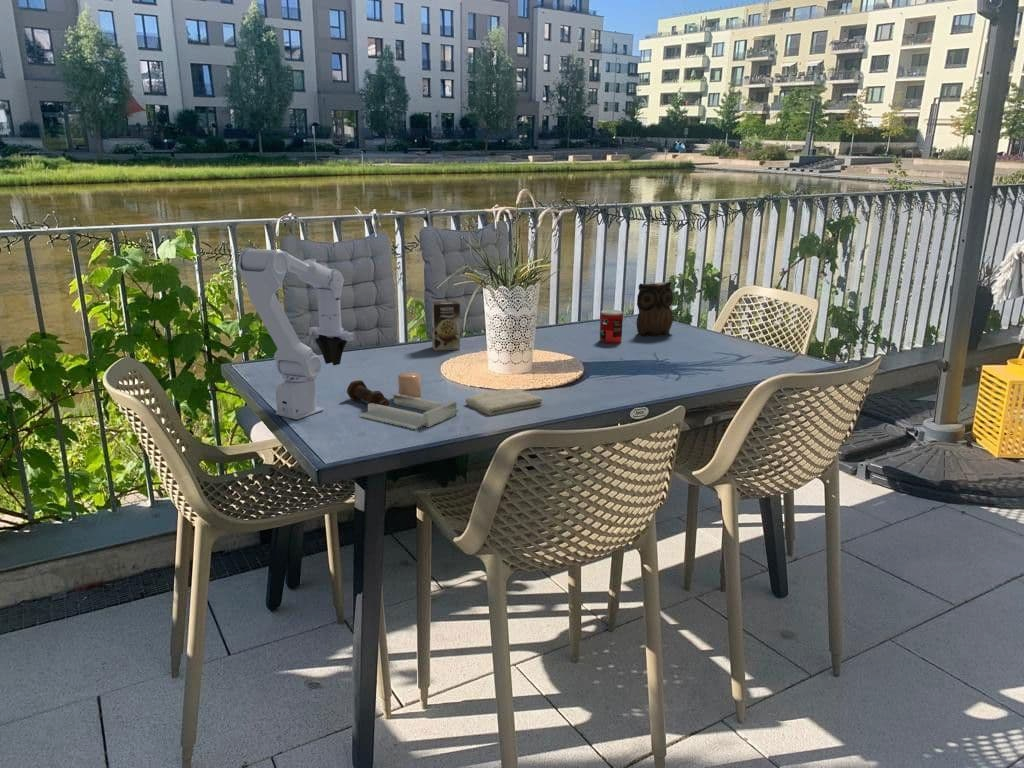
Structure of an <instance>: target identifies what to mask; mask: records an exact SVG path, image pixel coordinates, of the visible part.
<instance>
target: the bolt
mask: <svg viewBox="0 0 1024 768" xmlns="http://www.w3.org/2000/svg"><path fill="white" fill-rule="evenodd" d="M346 393H347V396H349V398H350V399H351V400H353V401H356V400H363V401H364V402H365V403H367V405H368V404H370V403H375V404H379V405H384V406H388V407H390V400H389V399H388V398H387V397H385V396H384V393H382V392H381V391H380V390H374V391H372V390H371V389H369V388H368V387H367V385H366V384H365V382H364V380H353V381H351V382H350V383H349V385H348V386H347V389H346Z"/></svg>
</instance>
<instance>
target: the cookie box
mask: <svg viewBox="0 0 1024 768" xmlns="http://www.w3.org/2000/svg"><path fill="white" fill-rule="evenodd" d="M431 344H432V345H431V347H432V349H433V351H435V352H436V351H454V350H455V351H456V350H461V304H460V302H458V301H456V300H455V301H454V300H453V301H451V300H450V301H449V300H448V301H431Z"/></svg>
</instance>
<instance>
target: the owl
mask: <svg viewBox="0 0 1024 768" xmlns="http://www.w3.org/2000/svg"><path fill="white" fill-rule="evenodd" d="M671 285H672V281H667V282H666V281H665V282H650V283H639V285H638V294H637V299H636V302H637V303H636V306H637V308H638V315H637V317H636V331H637V335H638V336H639V335H641V336H640V337H648V336H651V337H658V336H659V335H664V336H667V335H668V333H669V334H670V330H671V328H672V325H673V322H674V320H675V319H674V317H673V315H674V312H673V311H672V309H671V305H672V304H673V302H674V296H673V295H674V292H673V290H672V288H671ZM659 337H660V336H659Z"/></svg>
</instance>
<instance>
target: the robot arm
mask: <svg viewBox="0 0 1024 768" xmlns="http://www.w3.org/2000/svg"><path fill="white" fill-rule="evenodd" d="M238 257H239V258H238V263H237V268H236V269H237V271H238V272H239V274H240V276H241V277H242V279H243V281H244V283H245V287H246V292H247V295H248V298H249V300H250V302H251V303H252V305H253V307H254V309H255V311H256V313H257V314H258V316H259V318H260V320H261V322H262V324H263V325H264V328H265V329H266V330H267V332H268V334H269V336H270V338H271V339H272V341H273V343H274V345H275V346H276V348H277V349H276V351H275V353H274V355H273V359H274V361H275V363H276V369H277V372H278V373H279V375H281V376H282V379H283V380H284V381H283V382H282V383H280V384H278V385H277V387H276V388H275V389H276V390H275V397H276V412H275V415H277V416H281V417H285V418H288V419H293V420H301V419H303V418H306V417H309V416H312V415H314V414H317V413H319V412H323V411H325V408H324V407H320V406H318V405H317V394H316V381H315V379H317V378H318V376H319V374H320V372H321V370H322V369H321V368H322V362H321V358H320V357H319V355H317V354H316V353H314V351H313V349H312V348H311V347H309V346H307V345H306V344H304V343H302V342H301V340H300V338H299V336H298V335H297V333H296V331H295V329H294V327H293V326H292V324H291V321H290V319H289V318H288V317H287V314H286V312H285V310H284V308H283V307H282V305H281V303H280V301H279V299H278V297H277V295H276V292H277V291H279V290H280V288H281V286H282V285H283V284H282V283H283V281H284V279H285V276H286V274H287V272H290V273H293V274H295V275H297V278H298V279H299V281H301V282H303V283H306V284H308V285H311V286H312V288H313V289H314V290H316V291H317V292H316V294H317V307H318V308H317V309H318V311H317V312H318V322H319V326H312V327H308V334H309V335H310V336H318V337H316V338H314V341H315V343H316V345H317V346H318V347H319V350H320V352H321V354H322V357H323V359H324V363H325V364H326V365H327V364H332V365H333V366H339V365H340V364H341V360H342V355H343V352H344V349H345V347H346V344H347V343H348V342H352V341H355V339H354V332H352V331H351V332H350V331H348V330H345V329H344V327H343V325H342V313H341V297H342V295H343V292H342V289H343V287H344V282H345V279H344V277H343V274H342V273H341V272H340V271H339V269H336V268H329V267H328V266H327V265H326V264H323V263H322V264H320V263H318V262H317V259H314V258H308V259H305V260H301V259H299V258H296V257H295V256H293V255H291V254H289V252H288V251H284V250H281V249H265V248H264V249H263V248H262V249H260V248H259V249H258V248H253V247H246V248H243V250H242V251H241V252H240V254H239V256H238Z"/></svg>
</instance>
